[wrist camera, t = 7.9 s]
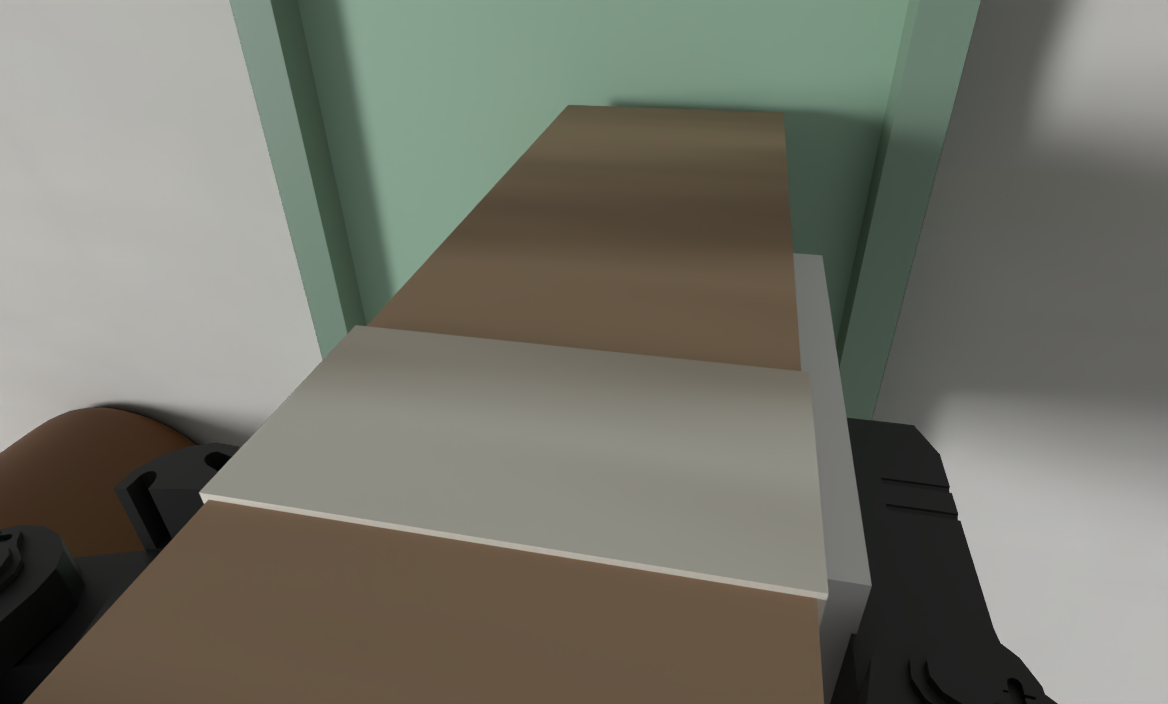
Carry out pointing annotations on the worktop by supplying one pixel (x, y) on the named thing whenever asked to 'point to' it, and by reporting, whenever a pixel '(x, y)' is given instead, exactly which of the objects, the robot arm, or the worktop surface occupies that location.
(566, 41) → the pitch
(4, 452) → the mug
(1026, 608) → the worktop surface
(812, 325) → the robot arm
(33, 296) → the worktop surface
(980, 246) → the worktop surface
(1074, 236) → the worktop surface
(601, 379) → the block
